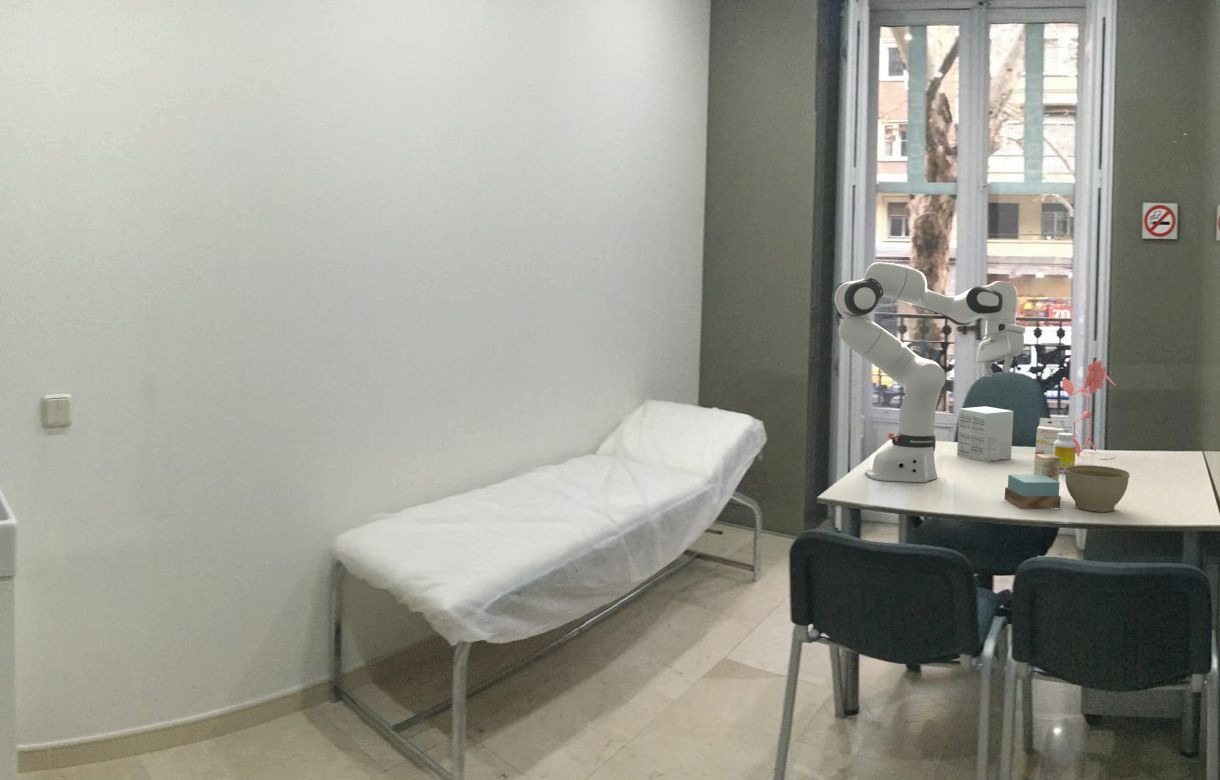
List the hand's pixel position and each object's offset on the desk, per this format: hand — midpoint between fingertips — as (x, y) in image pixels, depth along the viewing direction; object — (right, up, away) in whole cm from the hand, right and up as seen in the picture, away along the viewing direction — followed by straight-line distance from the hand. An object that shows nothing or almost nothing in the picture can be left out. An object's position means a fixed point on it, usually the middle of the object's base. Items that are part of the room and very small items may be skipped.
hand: (997, 373), depth 282 cm
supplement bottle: (+29, -33, +16) cm, 47 cm away
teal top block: (-1, -35, -27) cm, 44 cm away
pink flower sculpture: (+53, -29, +42) cm, 74 cm away
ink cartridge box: (+34, -30, +35) cm, 57 cm away
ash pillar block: (+7, -37, -16) cm, 41 cm away
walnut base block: (-1, -39, -26) cm, 47 cm away
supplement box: (+13, -30, +40) cm, 52 cm away
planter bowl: (+14, -39, -31) cm, 51 cm away
